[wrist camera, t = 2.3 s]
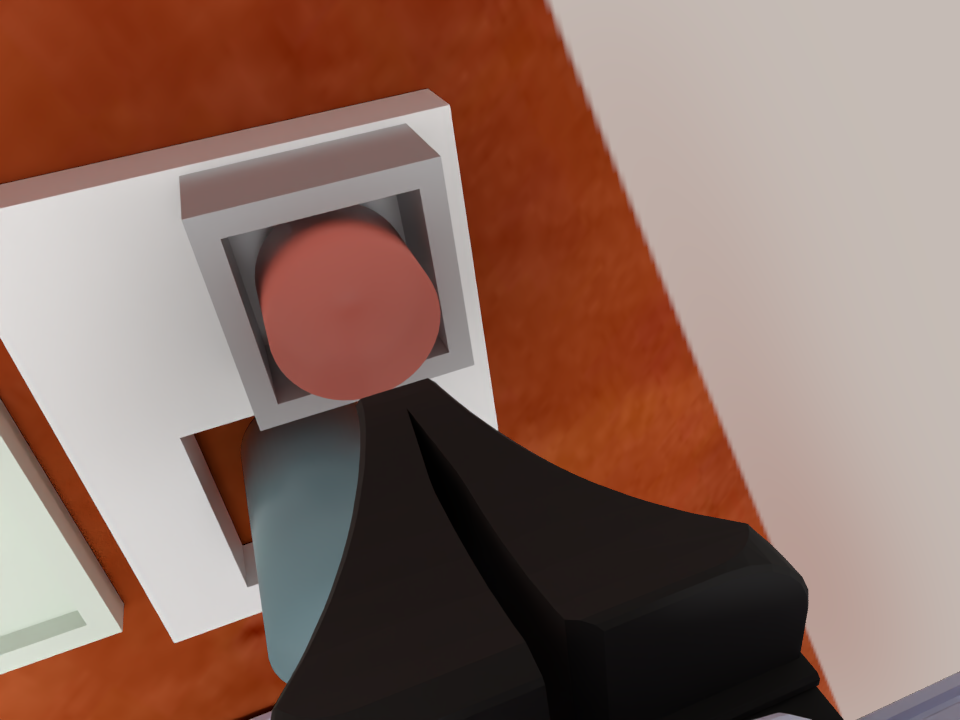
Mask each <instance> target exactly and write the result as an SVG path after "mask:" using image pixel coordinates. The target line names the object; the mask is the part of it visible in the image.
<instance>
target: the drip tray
mask: <svg viewBox="0 0 960 720" xmlns="http://www.w3.org/2000/svg"><path fill="white" fill-rule="evenodd" d="M123 614H124V603H123V602H122V600H121V598H120V597H119V595H118V593H117V592H116V590H115V588H114V587H113V585H112V583H111V582H110V580H109V578H108V577H107V575H106V573H105V572H104V570H103V568H102V567H101V565H100V563H99V562H98V560H97V558H96V557H95V555H94V553H93V552H92V550H91V549H90V547H89V545H88V544H87V542H86V540H85V539H84V537H83V535H82V534H81V532H80V530H79V529H78V527H77V525H76V524H75V522H74V520H73V519H72V517H71V515H70V514H69V512H68V510H67V509H66V507H65V505H64V504H63V502H62V500H61V499H60V497H59V495H58V494H57V492H56V490H55V489H54V487H53V485H52V484H51V482H50V480H49V479H48V477H47V475H46V474H45V472H44V470H43V469H42V467H41V465H40V464H39V462H38V460H37V459H36V457H35V455H34V454H33V452H32V450H31V449H30V447H29V445H28V444H27V442H26V440H25V439H24V437H23V435H22V434H21V432H20V430H19V429H18V427H17V426H16V424H15V422H14V421H13V419H12V417H11V416H10V414H9V412H8V411H7V409H6V407H5V406H4V404H3V402H2V401H1V399H0V674H3V673H6V672H9V671H12V670H14V669H17V668H20V667H23V666H26V665H29V664H32V663H34V662H37V661H40V660H43V659H46V658H49V657H51V656H54V655H57V654H60V653H63V652H66V651H69V650H71V649H74V648H77V647H80V646H83V645H86V644H88V643H91V642H94V641H97V640H100V639H103V638H105V637H108V636H111V635H114V634H117V633H120V632H122V631H123Z"/></svg>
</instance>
